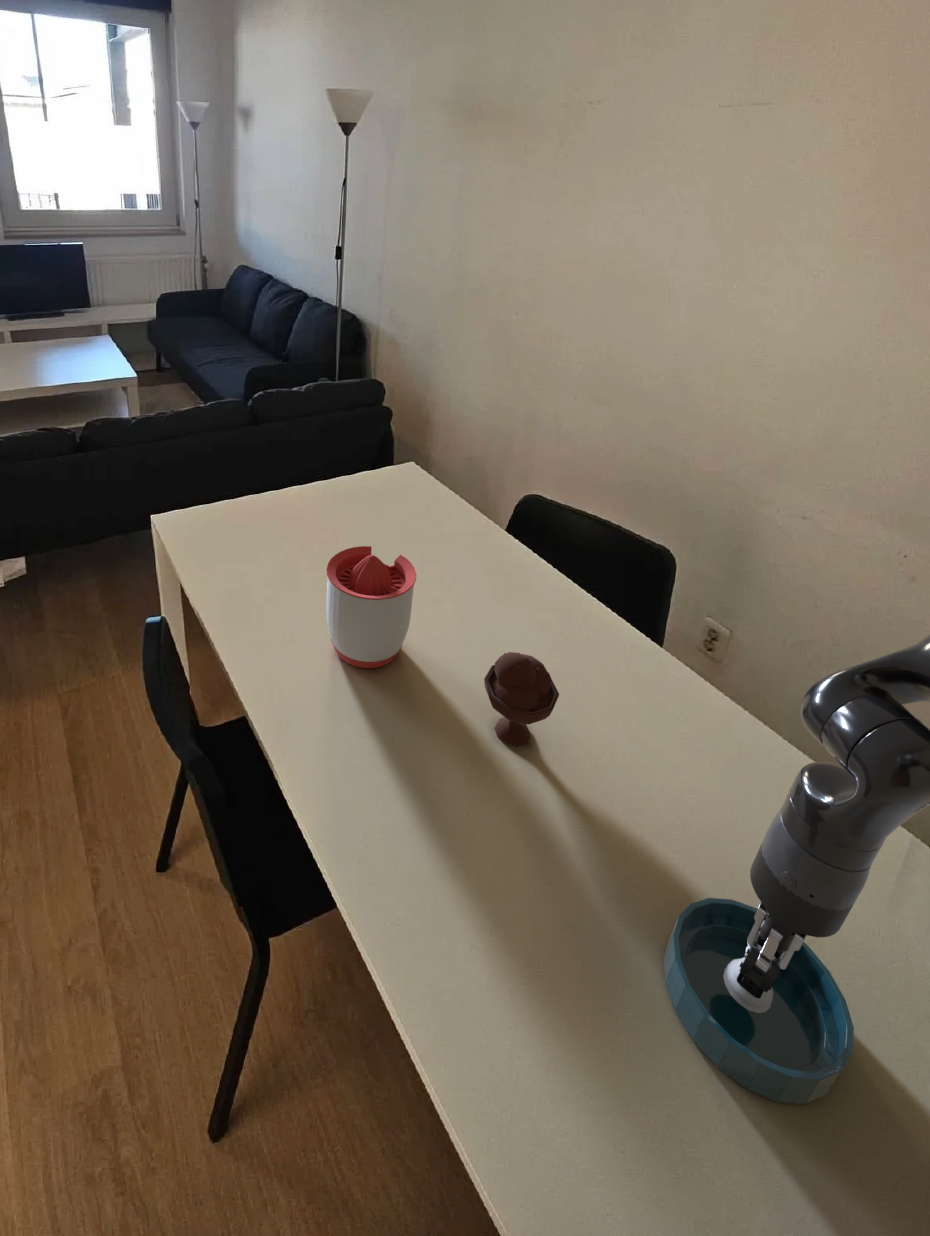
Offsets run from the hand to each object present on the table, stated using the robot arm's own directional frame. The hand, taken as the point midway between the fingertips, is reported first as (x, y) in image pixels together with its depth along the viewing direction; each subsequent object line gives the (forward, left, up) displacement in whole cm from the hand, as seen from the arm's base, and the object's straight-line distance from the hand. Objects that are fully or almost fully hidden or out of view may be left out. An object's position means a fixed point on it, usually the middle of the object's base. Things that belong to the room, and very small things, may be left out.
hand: (754, 973), depth 68 cm
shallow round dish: (-1, 0, -6) cm, 6 cm away
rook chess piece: (0, 0, -3) cm, 3 cm away
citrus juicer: (+40, -53, -6) cm, 67 cm away
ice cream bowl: (+17, -35, -6) cm, 40 cm away
